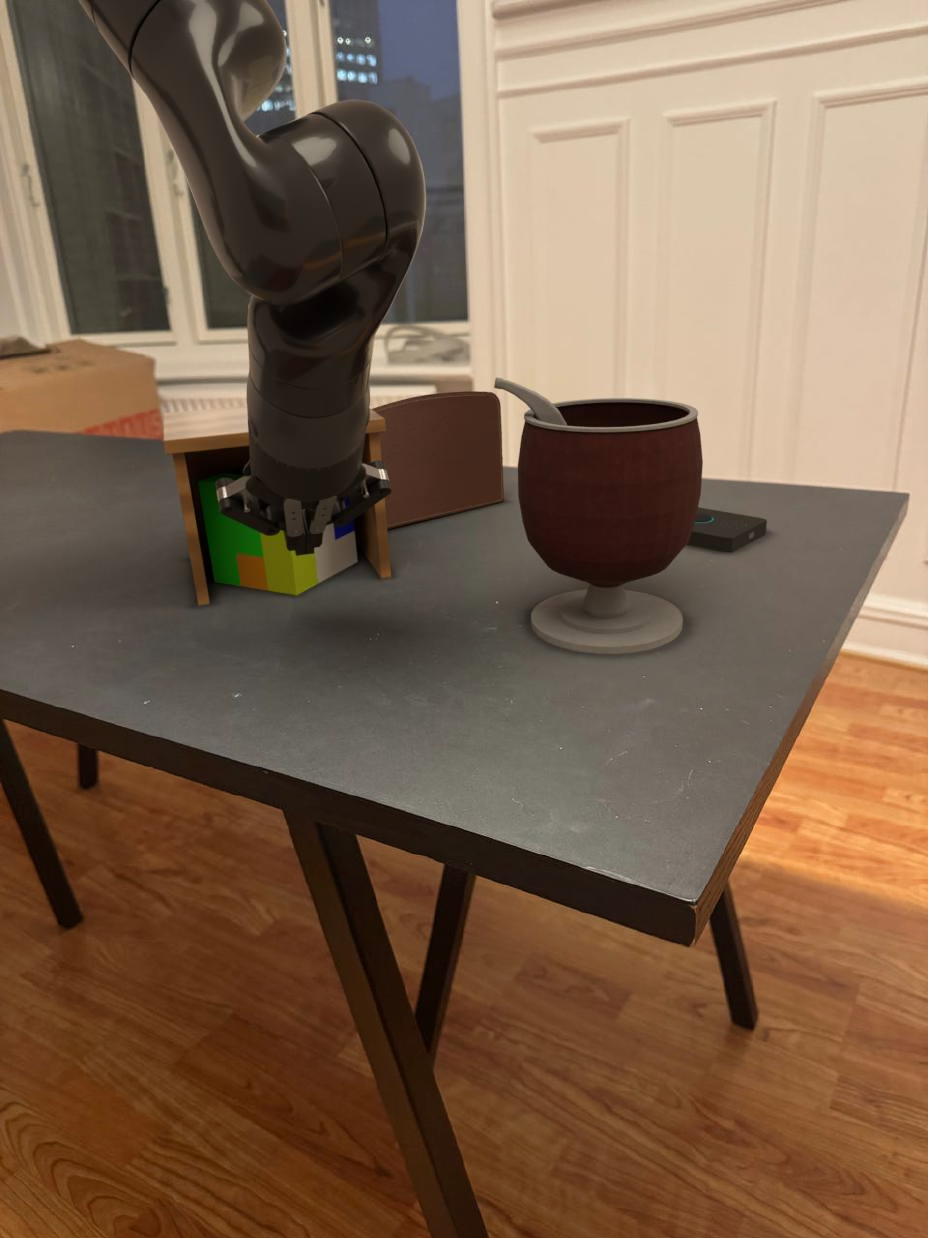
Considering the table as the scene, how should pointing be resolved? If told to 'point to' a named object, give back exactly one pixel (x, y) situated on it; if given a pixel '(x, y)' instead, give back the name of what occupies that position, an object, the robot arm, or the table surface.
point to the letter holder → (441, 455)
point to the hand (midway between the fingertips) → (302, 544)
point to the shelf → (222, 446)
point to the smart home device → (725, 530)
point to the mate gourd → (607, 512)
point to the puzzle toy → (269, 550)
